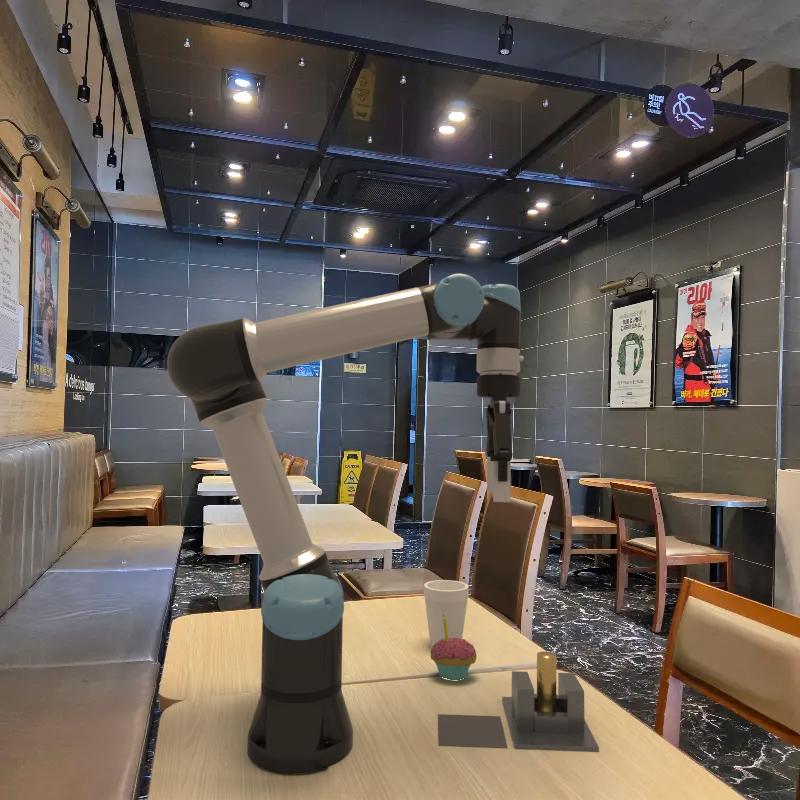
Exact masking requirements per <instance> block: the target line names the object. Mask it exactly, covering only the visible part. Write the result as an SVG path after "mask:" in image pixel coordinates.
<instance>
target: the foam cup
mask: <svg viewBox="0 0 800 800" xmlns="http://www.w3.org/2000/svg"><path fill="white" fill-rule="evenodd" d="M469 588H470V587H469V585H468V584H467V583H466V582H463V581H459V580H451V579H448V580H447V579H437V580H431V581H427V582H425V583H424V584H423V598H424V602H425V610H426V617H427V618H426V619H427V626H428V628H427V629H428V637H429V643H430V648H431V647H433V646H434V645H435V643H436V642H438V641H439V640H441V639H445V632H444V625H443V614H444V617H446V621H447V628H448V635H449V638H450V637H451V638H460V639H463V636H464V635H463V634H464V627H465V620H466V619H465V618H466V613H467V605H468V599H469V598H470V597H469V596H470V595H469V594H470V593H469V591H470V590H469Z"/></svg>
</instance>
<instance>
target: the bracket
mask: <svg viewBox="0 0 800 800" xmlns="http://www.w3.org/2000/svg"><path fill="white" fill-rule="evenodd" d="M557 674H558V675H557V676H558V677H557V680H558V681H557V683H558V684H557V686H558V687H557V689H558V690H557V693H558V694H556V712H537V693H535V688H534V686H533V682H532V681H531V679H530V675H529V673H528V671H516V670H515V671H511V696H502V697H501V698H502V699H501V700H502V705H503V709H504V712H505V717H506V721H507V725H508V727H509V733H510V735H511V740H512V742H513V743H512V744H513V748H514V749H515V750H538V751H539V750H540V751H563V752H564V751H566V752H567V751H569V752H591V753H593V752H595V753H599V752H600V747H599V745H598V743H597V740H596V738H595V737H594V735H593V733H592V730H590V727H589V726H588V724H587V722H586V720H585V690H584V688H583V687H582V685H581V683H580V682H579V679H578V678H577V676H576V674H575V673H574V672H558V673H557Z"/></svg>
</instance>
